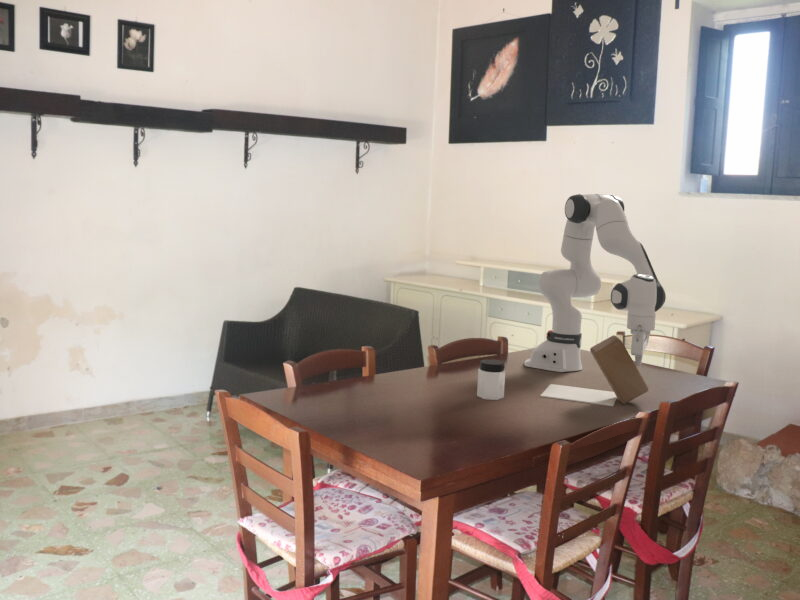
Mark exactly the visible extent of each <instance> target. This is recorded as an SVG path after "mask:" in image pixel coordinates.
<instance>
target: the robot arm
mask: <svg viewBox="0 0 800 600" xmlns="http://www.w3.org/2000/svg"><path fill="white" fill-rule="evenodd" d="M564 215H565V218H566V222H565V226H564V231H563V236H562V242H561V248H560V253H561V255H562V257H563V258H564V259H565V260H567V261H568V262H570V266H569V267H570V268H569V269H563V268H562V269H549V270H546V271H543V272H542V273H541V274H540V275H539V278H538V281H537V286H538V287H537V288H538V290H539V293H540V294H541V295H542V296H544V297H545V298H546V300H547V301H548V302H549V304H550V307H551V312H552V322H551V323H552V324H551V325H552V326H551V327H552V328H551V329H549V330H548V331H547V332H546V340H545V341H543V342H541V343H540V344H538V345H536V346H535V347H534V348H533V349H532V351H531V354H530V358H527V359H526V360H525V361H524V366H525V367H529V368H534V369H539V370H546V371H551V372H557V373H565V372H577V371H578V372H579V371H582V370H583V365H582V360H581V348H582V342H583V341H582V335H583V334H582V332H581V331H582V319H583V315H582V313H581V311H580V310H579V309H578V308H576V307H574V306H573V304H572V301H571V298H588V297H593V296H595V295H597V294H598V293H599V291H600V290H601V287H602V279H601V276H600V274H599V273H597V271H596V270H595V269H594V267H593V265H592V260H591V251H592V247H593V239H594V233H595V231H596V236H597V240H598V243H599V245H600V247H601V248H602V249H603V250H604V251H605V252H607V253H609V254H611V255H613V256H617V257H620V258H622V259H624V260H626V261H628V262H630V263H631V264H632V265H633V267H634V269H635V272H636V274H633V275H632V276H631V277H630V279H628V280H626V281H622V282H618V283H617V284H615V285H614V286H613V288H612V289H611V293H610V302H611V304H612V306H613V307H614V308H615V309H616V310H620V311H628V312H627V318H626V319H627V320H626V329H628V330H630V334H632V336H631V347H630V354H631V355H630V356H634V359H635V361H634V364H635V365H636V367H640V366H641V365H642V361H643V356H644V353H645V351H646V349H647V347H648V344H649V339H650V335H651V331H655V328H656V327H655V326H656V312H658V311H659V310H660V309H661V308H662V307H663V306H664V304H665V303H666V298H667V295H666V292H665V291H666V290H664V289H665V288H664V287H663V285H662V284H661V282H660V280H659V279H658V277H657V275H656V272H655V270H654V268H653V265H652V263H651V260H650V258H649V256H648V253H647V251H646V248H644V246H643V244H642V242H640V241H639V240H638V239H637V238H636V237H635V236H634V235H633V233H632V231H631V230H630V226H629V223H628V219H627V216H626V213H625V203H624V201H623V200H622V198H621V197H619V196H616V195H611V194H610V195H607V194H600V193H594V194H593V193H591V194H590V193H589V194H581V193H579V194H572V195H571V196H569V197H568V198H567V200H566V202H565V206H564Z"/></svg>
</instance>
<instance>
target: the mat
mask: <svg viewBox="0 0 800 600" xmlns="http://www.w3.org/2000/svg"><path fill="white" fill-rule="evenodd" d="M540 397H541V398H547V399H548V398H549V399H553V400H554V399H555V400H556V399H557V400H563V401H570V402H578V403H586V404H592V405H601V406H609V407H614V405H615V403H616V401H617V399H618V398H617V396H616V395H615V393H614V391H608V390H601V389H593V388H586V387H585V388H584V387H577V386H571V385H570V386H569V385H563V384H562V385H561V384H554V383H553V384H552V383H550V384H549V385H548V387H547V388H546V389H545V390H544V391H543V392H542V393H541V394H540Z"/></svg>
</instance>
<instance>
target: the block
mask: <svg viewBox="0 0 800 600" xmlns="http://www.w3.org/2000/svg"><path fill="white" fill-rule="evenodd" d="M589 350H590V353H591V355H592V357H593V358H594V360H595V362H596V364H597V365H598V367H599V368H600V370H601V372H602V374H603V375H604V378H605V379H606V381H607V383H608V384H609V386H610V388H611V390H612V392H614V393H615V395H616V396H617V399H618V400H619V401H620V403H621V404H623V405H625V404H628V403H629V402H631V401H633V400H635V399H637V398H638V397H641V396H642V395H644V394H646V393H647V392H648V391H649V386H648V385H647V383H646V381H645V380H644V378H643V376H642V374H641V372H640V371H639V369H638V366H636V365H635V361H633V358H632V357H631V355H630V353H629V351H628V349H627V348H626V346H625V345H624V343H623V341H622V340H621V339H620V338H619V337H618V336H617V335H611V336H610V337H608V338H606V339H604V340H602V341H600V342H598V343H597V344H595V345H593V346H592V347H590V348H589Z"/></svg>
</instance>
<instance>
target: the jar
mask: <svg viewBox="0 0 800 600" xmlns="http://www.w3.org/2000/svg"><path fill="white" fill-rule="evenodd" d="M505 365H506V364H505V362H504V361H502V360H499V359H490V358H489V359H482V360H480V361H479V368H478V369H477V371H478V372H477V385H476V386H477V388H476V390H477V391H476V397H479V398H480V399H482V400H487V401H488V400H489V401H498V400H501V399H504V398H505V385H506V384H505V383H506V370H505Z"/></svg>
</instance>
